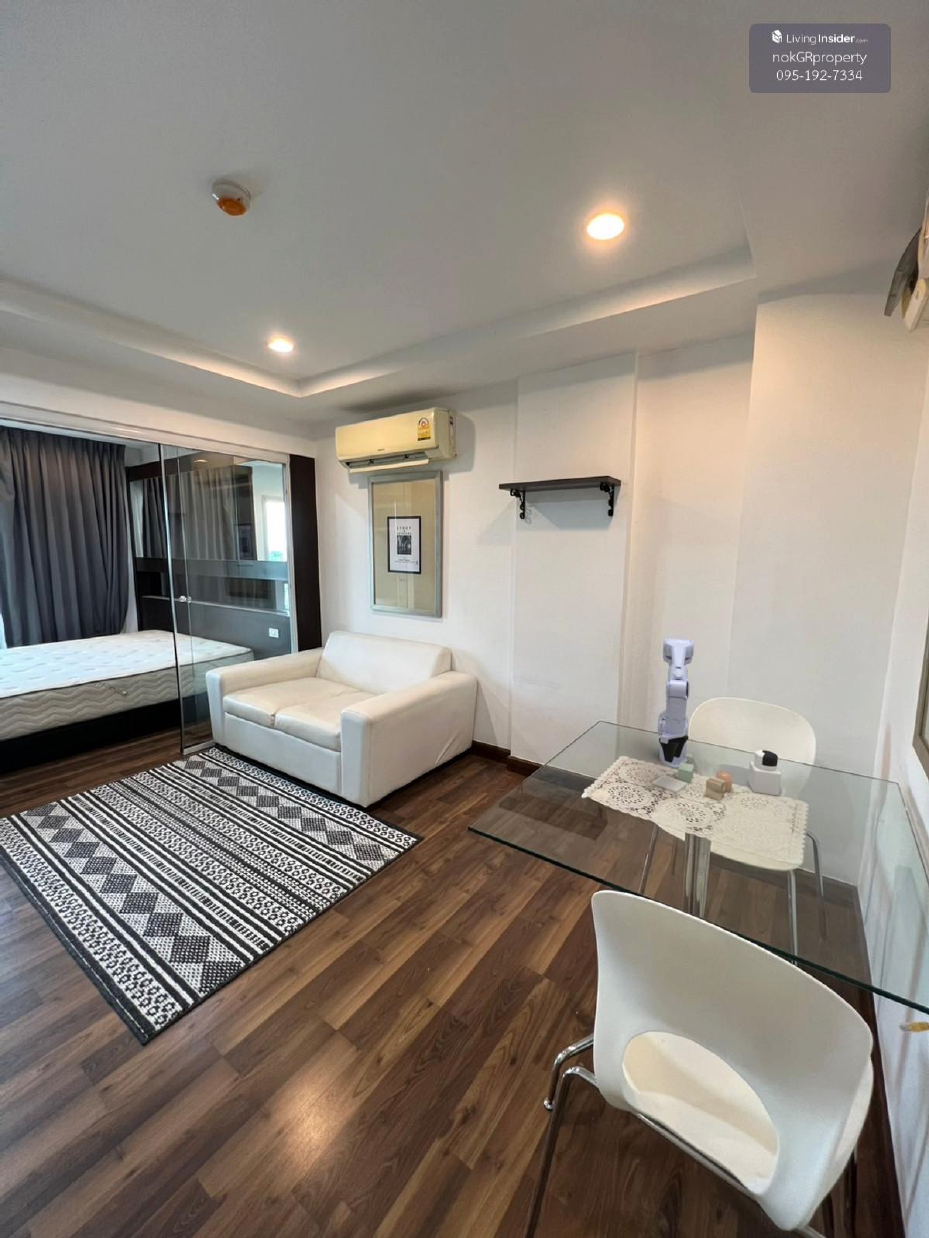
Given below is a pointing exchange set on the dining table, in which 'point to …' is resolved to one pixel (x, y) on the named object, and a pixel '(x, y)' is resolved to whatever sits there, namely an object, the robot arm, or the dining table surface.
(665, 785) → the coaster
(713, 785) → the maple block
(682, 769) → the green block
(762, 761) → the medicine bottle
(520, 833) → the dining table surface
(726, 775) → the terracotta cylinder
